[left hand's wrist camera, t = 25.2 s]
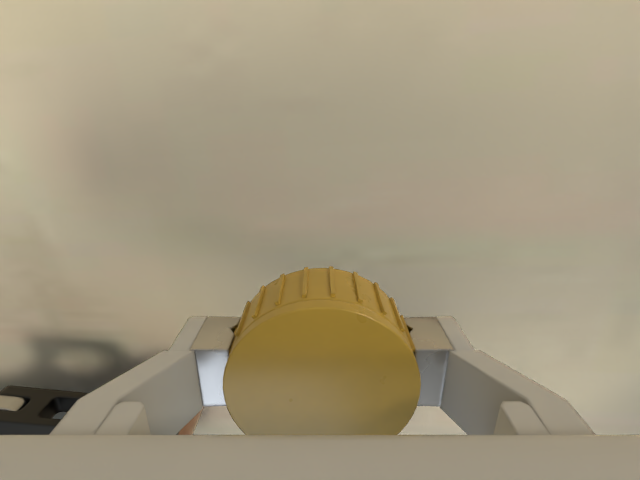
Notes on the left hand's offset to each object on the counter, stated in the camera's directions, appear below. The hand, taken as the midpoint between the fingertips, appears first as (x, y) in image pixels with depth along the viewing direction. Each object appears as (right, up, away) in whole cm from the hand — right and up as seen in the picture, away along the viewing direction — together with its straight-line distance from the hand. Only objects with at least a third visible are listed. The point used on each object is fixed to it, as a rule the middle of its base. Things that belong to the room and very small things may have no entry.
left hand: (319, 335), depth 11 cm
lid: (0, -1, -2) cm, 2 cm away
